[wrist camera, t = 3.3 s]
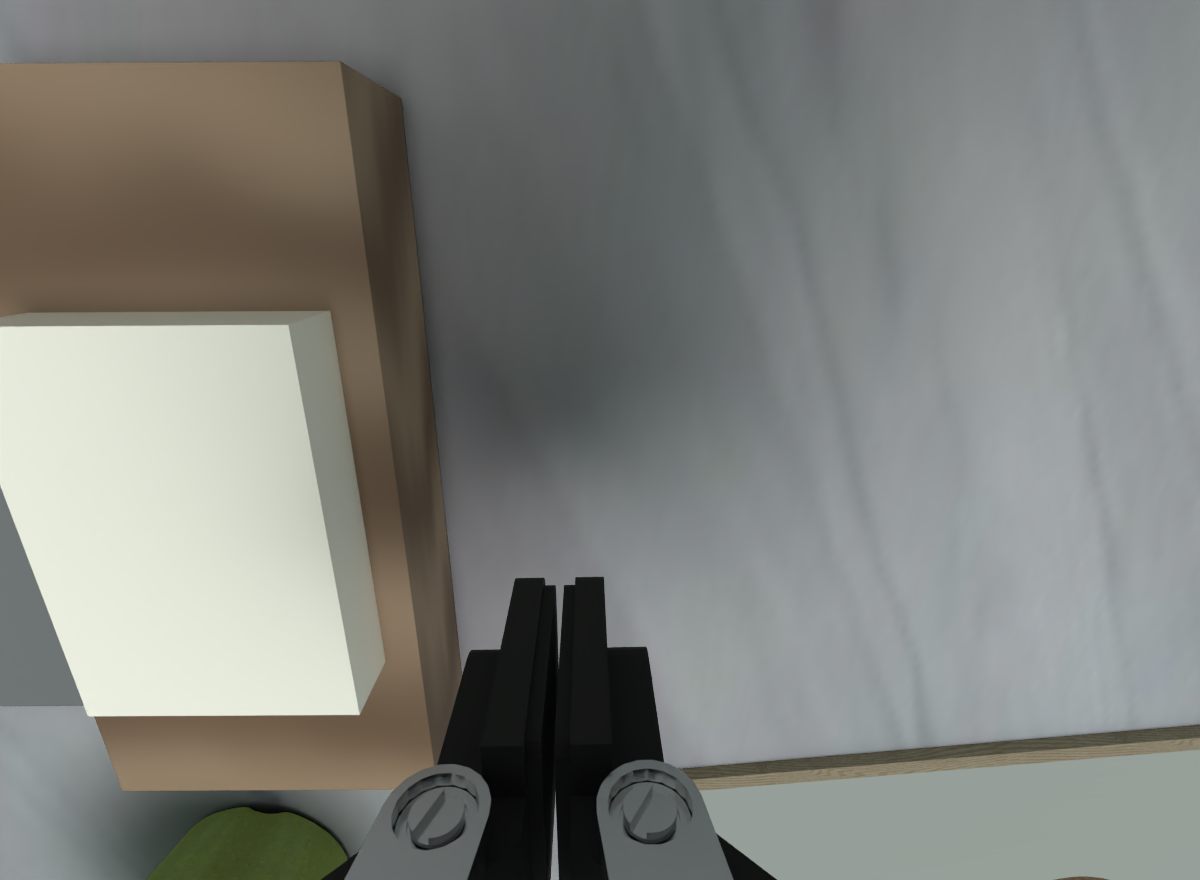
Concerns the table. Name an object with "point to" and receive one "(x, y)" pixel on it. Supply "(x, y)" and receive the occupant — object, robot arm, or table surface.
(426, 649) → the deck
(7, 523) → the mat
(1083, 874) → the picture frame
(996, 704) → the table surface
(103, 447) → the cream white slab
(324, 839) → the plant pot
